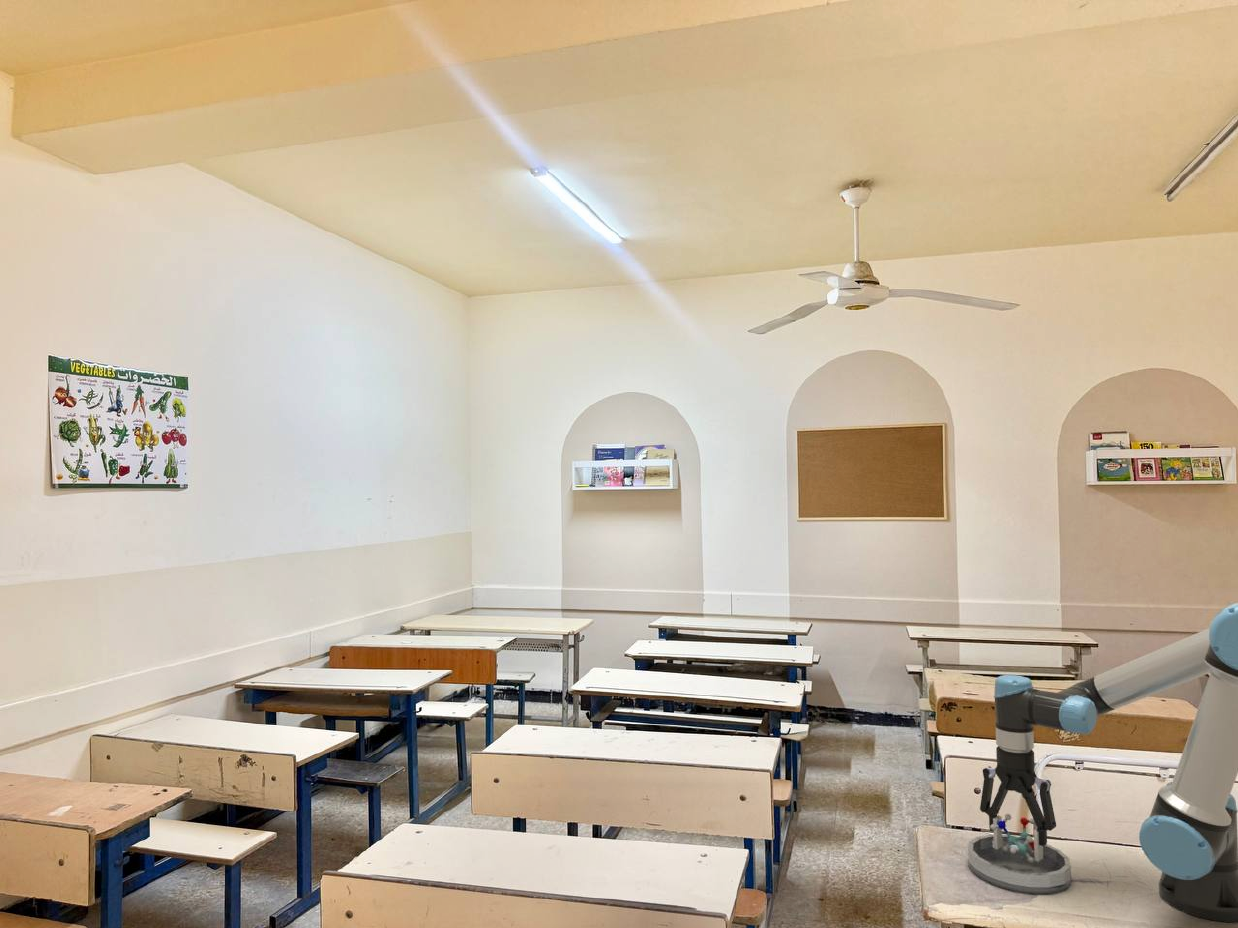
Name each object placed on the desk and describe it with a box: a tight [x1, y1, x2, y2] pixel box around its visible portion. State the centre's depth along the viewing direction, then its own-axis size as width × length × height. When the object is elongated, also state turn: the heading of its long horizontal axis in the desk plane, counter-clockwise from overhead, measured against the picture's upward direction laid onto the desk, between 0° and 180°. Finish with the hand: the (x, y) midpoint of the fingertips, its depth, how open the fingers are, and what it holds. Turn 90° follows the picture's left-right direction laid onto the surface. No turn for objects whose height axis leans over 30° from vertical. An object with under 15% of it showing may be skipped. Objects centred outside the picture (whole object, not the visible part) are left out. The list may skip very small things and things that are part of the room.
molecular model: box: [989, 813, 1036, 863], centre depth 177 cm, size 12×10×10 cm
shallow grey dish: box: [967, 834, 1072, 896], centre depth 177 cm, size 20×20×4 cm
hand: (1018, 852), depth 177 cm, fingers closed on molecular model, 8 cm apart
